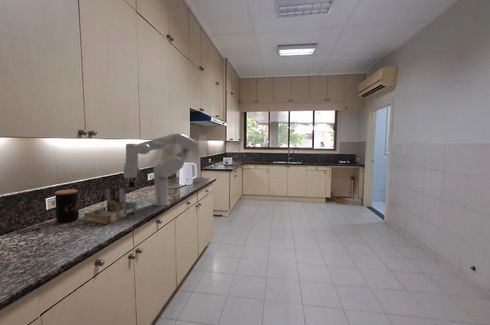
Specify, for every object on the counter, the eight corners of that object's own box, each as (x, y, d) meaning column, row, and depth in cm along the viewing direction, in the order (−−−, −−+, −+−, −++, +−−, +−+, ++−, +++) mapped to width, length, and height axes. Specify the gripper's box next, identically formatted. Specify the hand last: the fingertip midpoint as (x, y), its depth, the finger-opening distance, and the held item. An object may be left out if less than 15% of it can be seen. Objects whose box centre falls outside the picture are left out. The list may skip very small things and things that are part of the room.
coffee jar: (66, 224, 132) (65, 193, 131) (51, 222, 134) (50, 192, 133) (83, 218, 143) (82, 189, 141) (69, 216, 145) (67, 188, 143)
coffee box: (126, 211, 152) (125, 187, 151) (120, 214, 146) (119, 189, 144) (113, 210, 153) (112, 186, 152) (106, 213, 147) (105, 188, 145)
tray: (115, 210, 160) (115, 200, 159) (136, 212, 156) (136, 202, 155) (98, 216, 146) (98, 205, 146) (121, 218, 142) (121, 208, 142)
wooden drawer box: (104, 214, 151) (104, 207, 150) (126, 217, 147) (126, 209, 146) (85, 221, 137) (84, 213, 136) (109, 224, 133) (109, 216, 133)
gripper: (118, 161, 159) (119, 187, 161) (137, 162, 156) (137, 188, 158) (126, 160, 167) (126, 185, 168) (144, 161, 163) (144, 187, 165)
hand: (132, 187), depth 163 cm, fingers closed
